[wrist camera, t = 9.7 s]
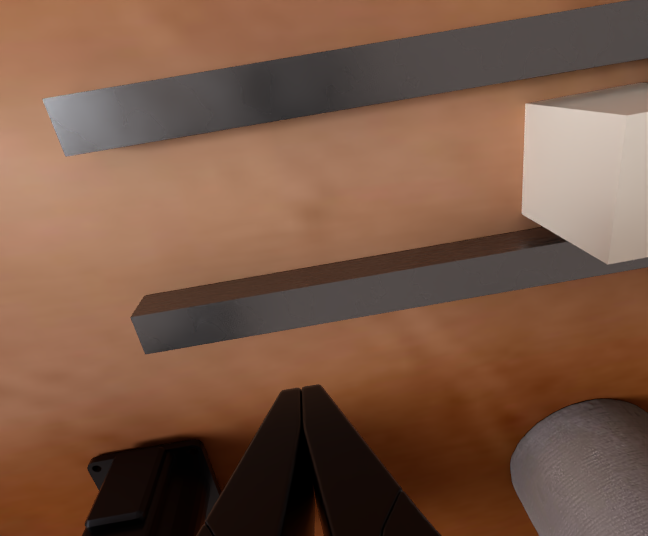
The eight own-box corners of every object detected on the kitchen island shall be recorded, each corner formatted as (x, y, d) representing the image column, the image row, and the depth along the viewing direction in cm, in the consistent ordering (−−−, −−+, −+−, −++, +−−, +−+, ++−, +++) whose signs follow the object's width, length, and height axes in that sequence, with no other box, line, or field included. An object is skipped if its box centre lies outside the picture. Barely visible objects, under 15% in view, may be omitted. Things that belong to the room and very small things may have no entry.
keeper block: (623, 195, 20) (747, 238, 15) (521, 213, 20) (607, 264, 15) (639, 82, 18) (789, 85, 13) (525, 103, 18) (627, 115, 13)
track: (714, 234, 22) (828, 276, 17) (157, 330, 21) (122, 399, 17) (778, -23, 17) (959, -59, 12) (68, 96, 17) (-13, 104, 12)
